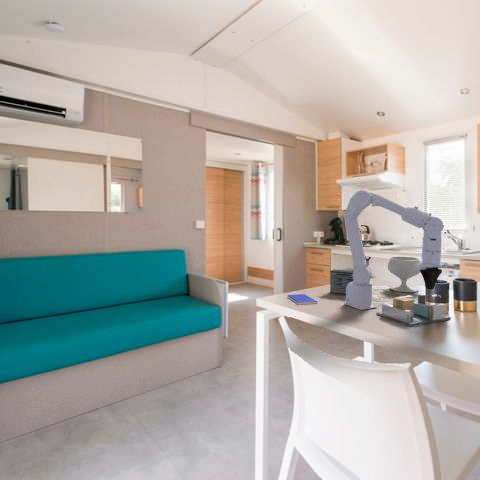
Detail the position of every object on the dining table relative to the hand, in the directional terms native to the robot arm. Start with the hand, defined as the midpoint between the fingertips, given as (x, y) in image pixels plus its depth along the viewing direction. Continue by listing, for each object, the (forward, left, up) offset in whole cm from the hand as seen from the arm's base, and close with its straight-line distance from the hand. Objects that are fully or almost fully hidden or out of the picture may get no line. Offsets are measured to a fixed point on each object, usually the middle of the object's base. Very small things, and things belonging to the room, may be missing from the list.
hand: (429, 288), depth 116 cm
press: (+1, -9, -9) cm, 13 cm away
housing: (+1, -14, -8) cm, 16 cm away
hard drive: (-34, -31, -10) cm, 47 cm away
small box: (-36, -8, -9) cm, 38 cm away
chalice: (-30, +22, -9) cm, 38 cm away
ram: (+1, -6, -8) cm, 10 cm away
